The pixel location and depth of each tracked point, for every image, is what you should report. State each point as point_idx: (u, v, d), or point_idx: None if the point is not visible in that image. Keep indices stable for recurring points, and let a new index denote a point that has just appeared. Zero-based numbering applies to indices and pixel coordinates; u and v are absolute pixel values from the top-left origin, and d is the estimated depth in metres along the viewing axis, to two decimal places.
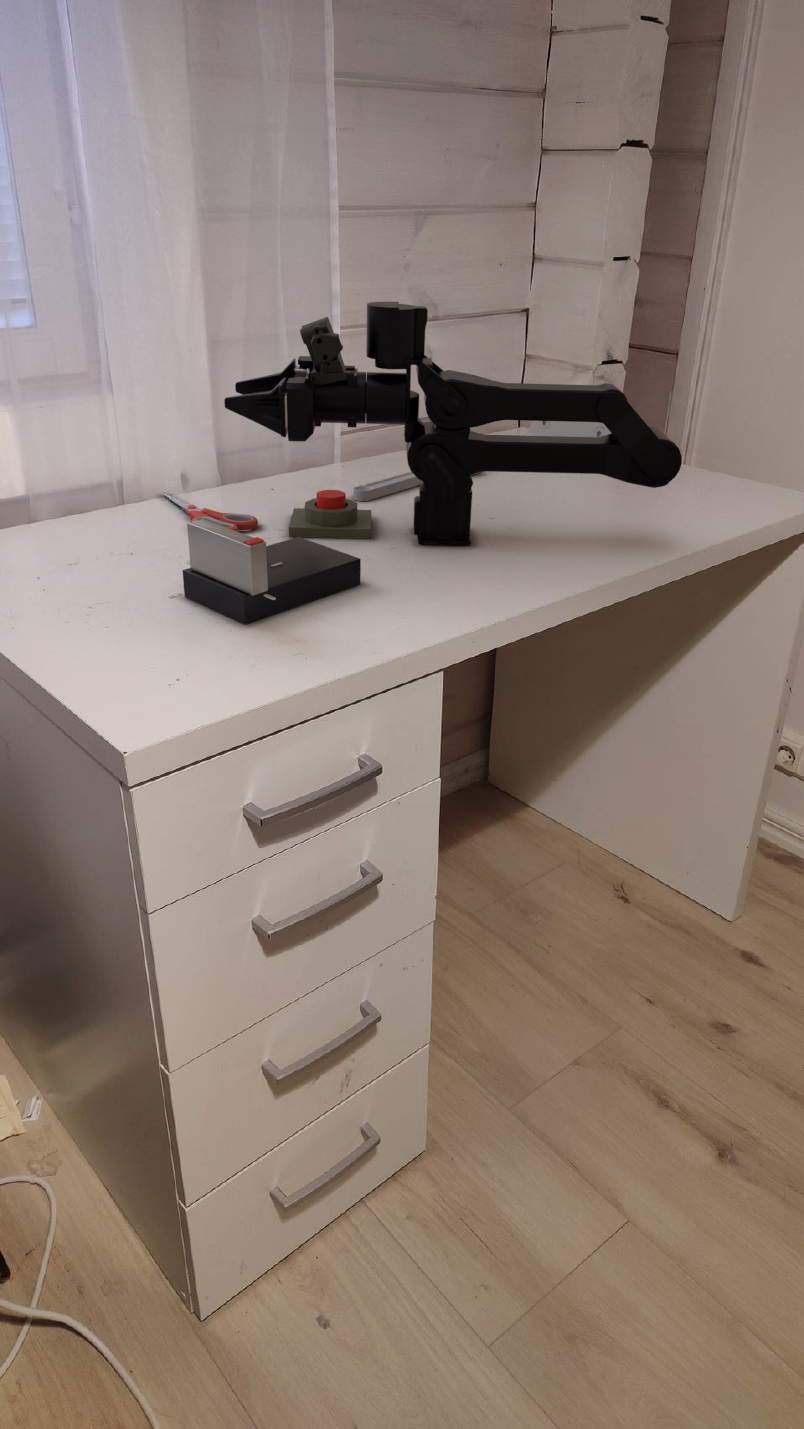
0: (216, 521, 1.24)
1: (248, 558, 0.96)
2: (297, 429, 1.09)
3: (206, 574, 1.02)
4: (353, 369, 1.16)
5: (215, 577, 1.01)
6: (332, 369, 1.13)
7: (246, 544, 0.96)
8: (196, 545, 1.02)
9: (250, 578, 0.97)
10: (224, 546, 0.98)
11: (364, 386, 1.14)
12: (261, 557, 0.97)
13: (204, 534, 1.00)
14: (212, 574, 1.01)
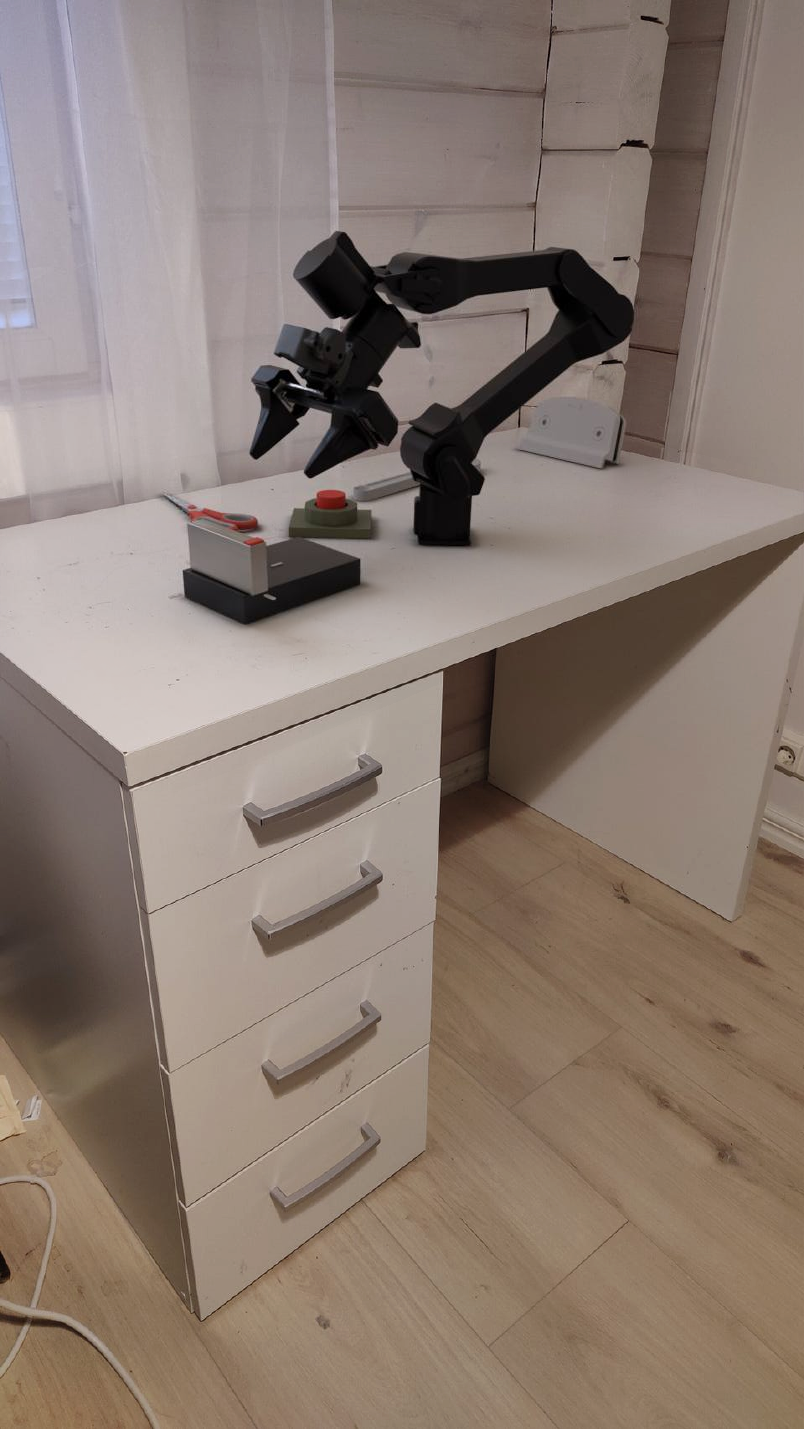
0: (216, 521, 1.24)
1: (248, 558, 0.96)
2: (391, 431, 1.03)
3: (206, 574, 1.02)
4: None
5: (215, 577, 1.01)
6: None
7: (246, 544, 0.96)
8: (196, 545, 1.02)
9: (250, 578, 0.97)
10: (224, 546, 0.98)
11: (366, 344, 1.06)
12: (261, 557, 0.97)
13: (204, 534, 1.00)
14: (212, 574, 1.01)
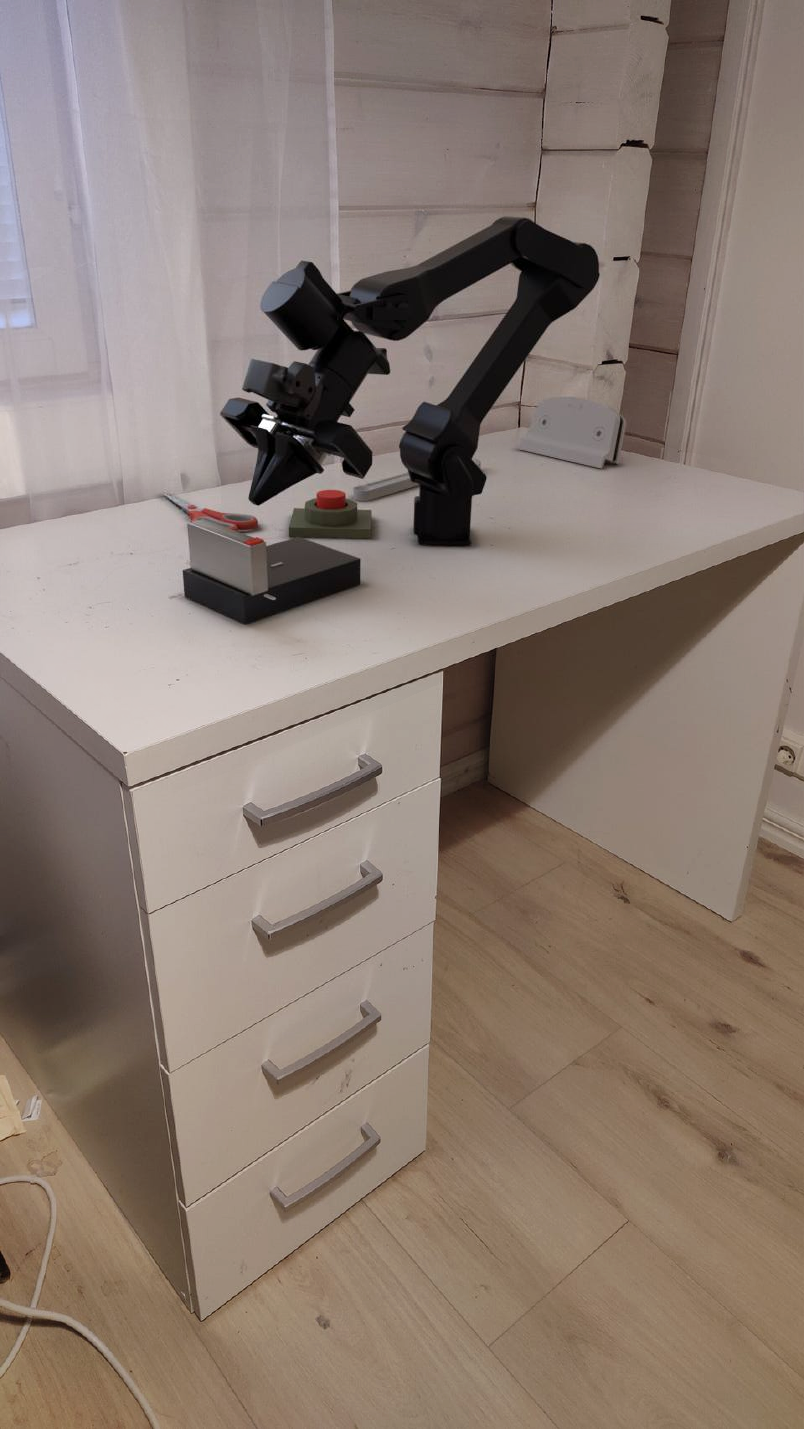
0: (216, 521, 1.24)
1: (248, 558, 0.96)
2: (365, 463, 1.02)
3: (206, 574, 1.02)
4: None
5: (215, 577, 1.01)
6: None
7: (246, 544, 0.96)
8: (196, 545, 1.02)
9: (250, 578, 0.97)
10: (224, 546, 0.98)
11: (336, 374, 1.04)
12: (261, 557, 0.97)
13: (204, 534, 1.00)
14: (212, 574, 1.01)
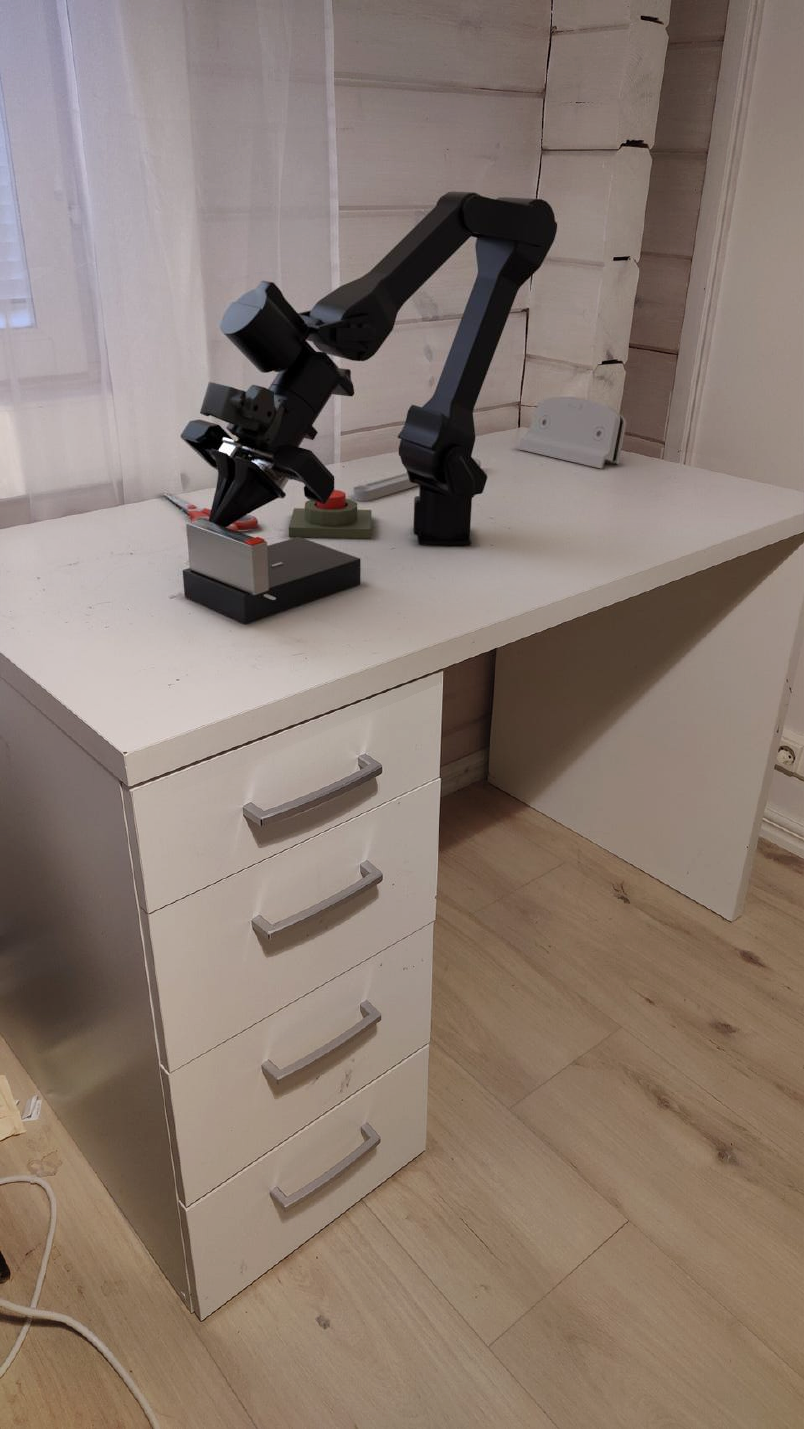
0: None
1: (249, 558, 0.96)
2: (327, 488, 0.99)
3: (206, 574, 1.02)
4: None
5: (215, 577, 1.01)
6: None
7: (248, 544, 0.96)
8: (195, 545, 1.02)
9: (251, 577, 0.97)
10: (225, 546, 0.98)
11: (297, 397, 1.01)
12: (262, 557, 0.97)
13: (204, 535, 1.00)
14: (212, 575, 1.01)
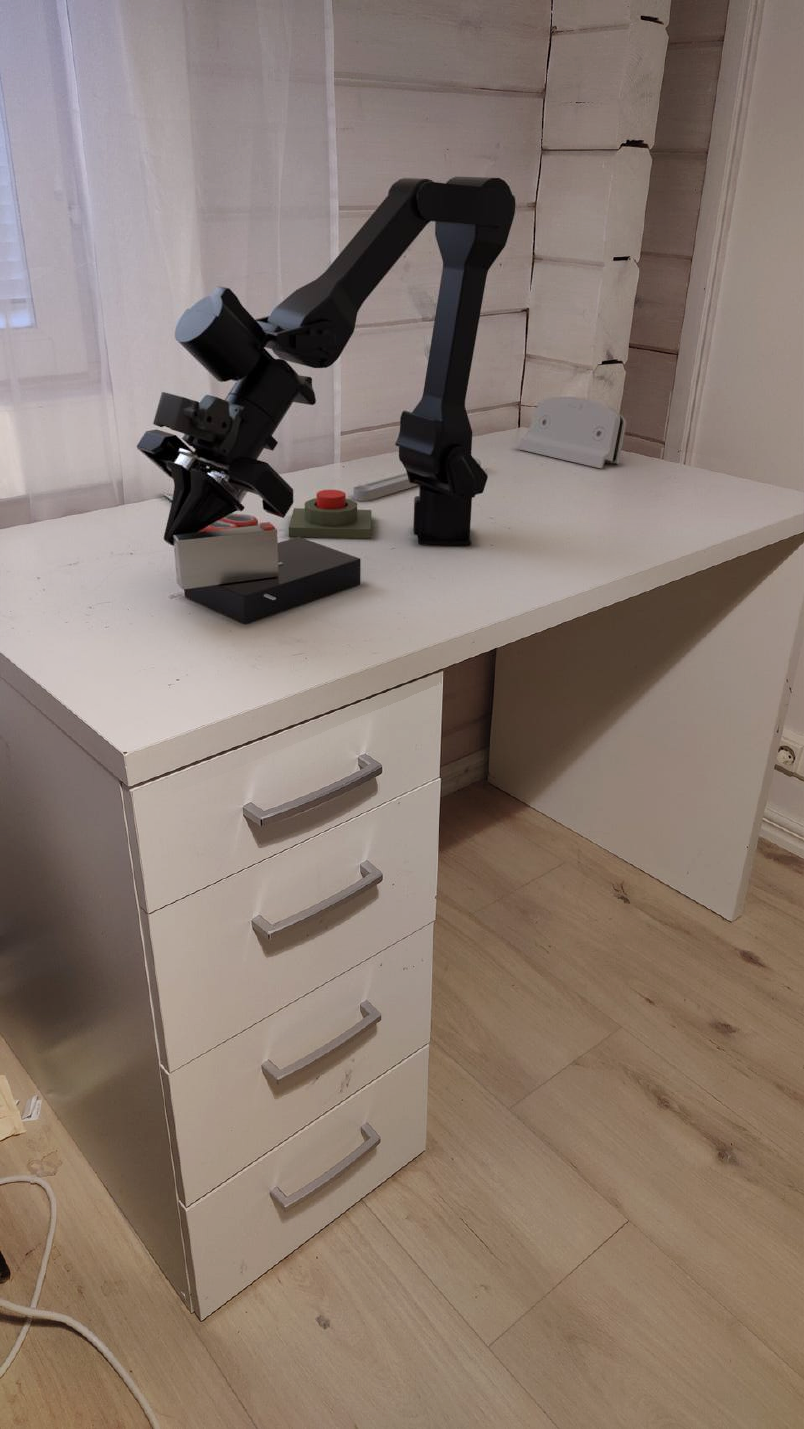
0: (216, 521, 1.24)
1: (274, 542, 1.01)
2: (285, 502, 0.96)
3: (208, 584, 1.00)
4: None
5: (223, 581, 1.00)
6: None
7: (270, 529, 1.00)
8: (193, 559, 0.98)
9: (276, 560, 1.02)
10: (239, 543, 0.99)
11: (255, 406, 0.98)
12: None
13: (208, 543, 0.98)
14: (219, 580, 1.00)
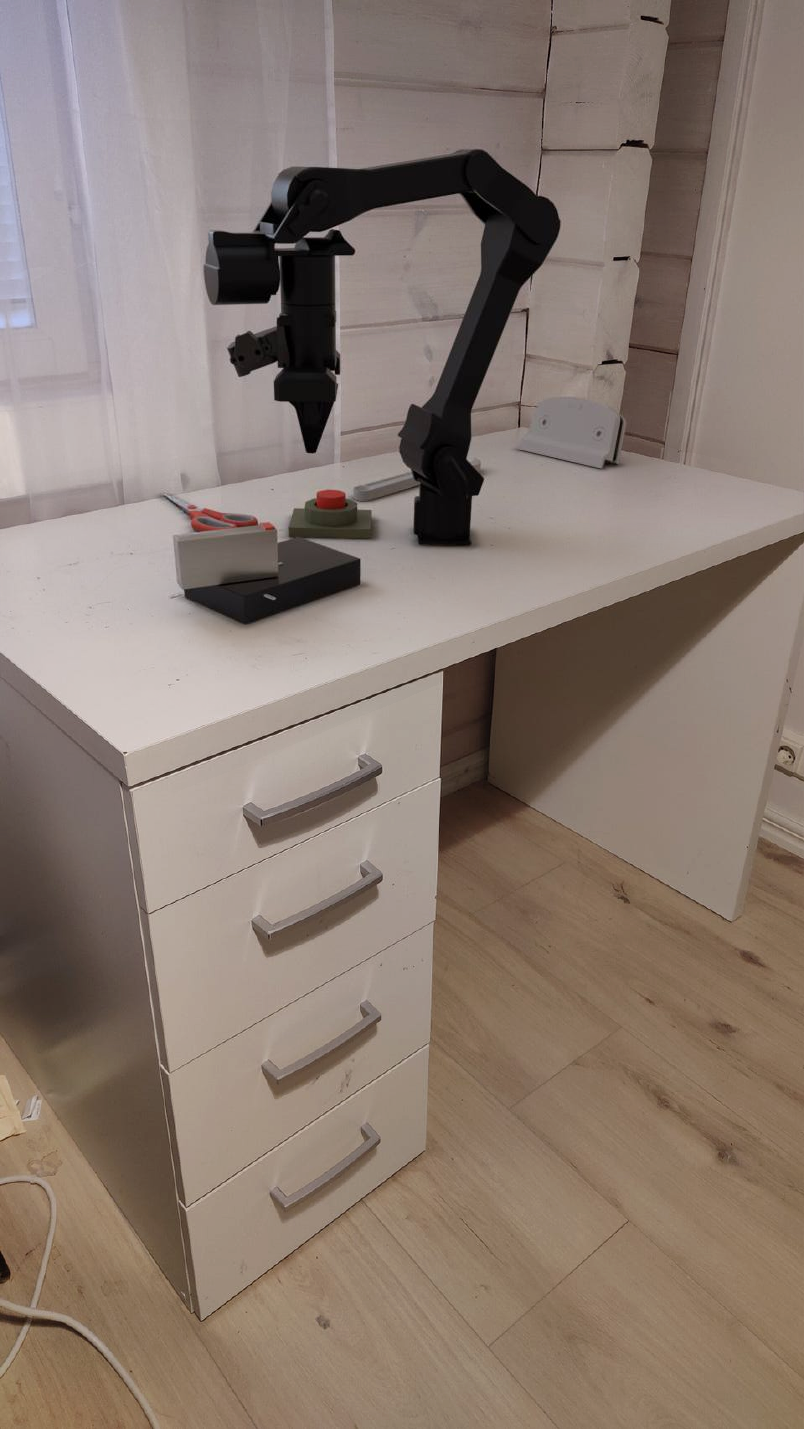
0: (216, 521, 1.24)
1: (274, 542, 1.01)
2: (321, 391, 1.01)
3: (208, 584, 1.00)
4: None
5: (223, 581, 1.00)
6: (273, 343, 1.05)
7: (270, 529, 1.00)
8: (193, 559, 0.98)
9: (276, 560, 1.02)
10: (239, 543, 0.99)
11: (290, 306, 1.03)
12: None
13: (208, 543, 0.98)
14: (219, 580, 1.00)
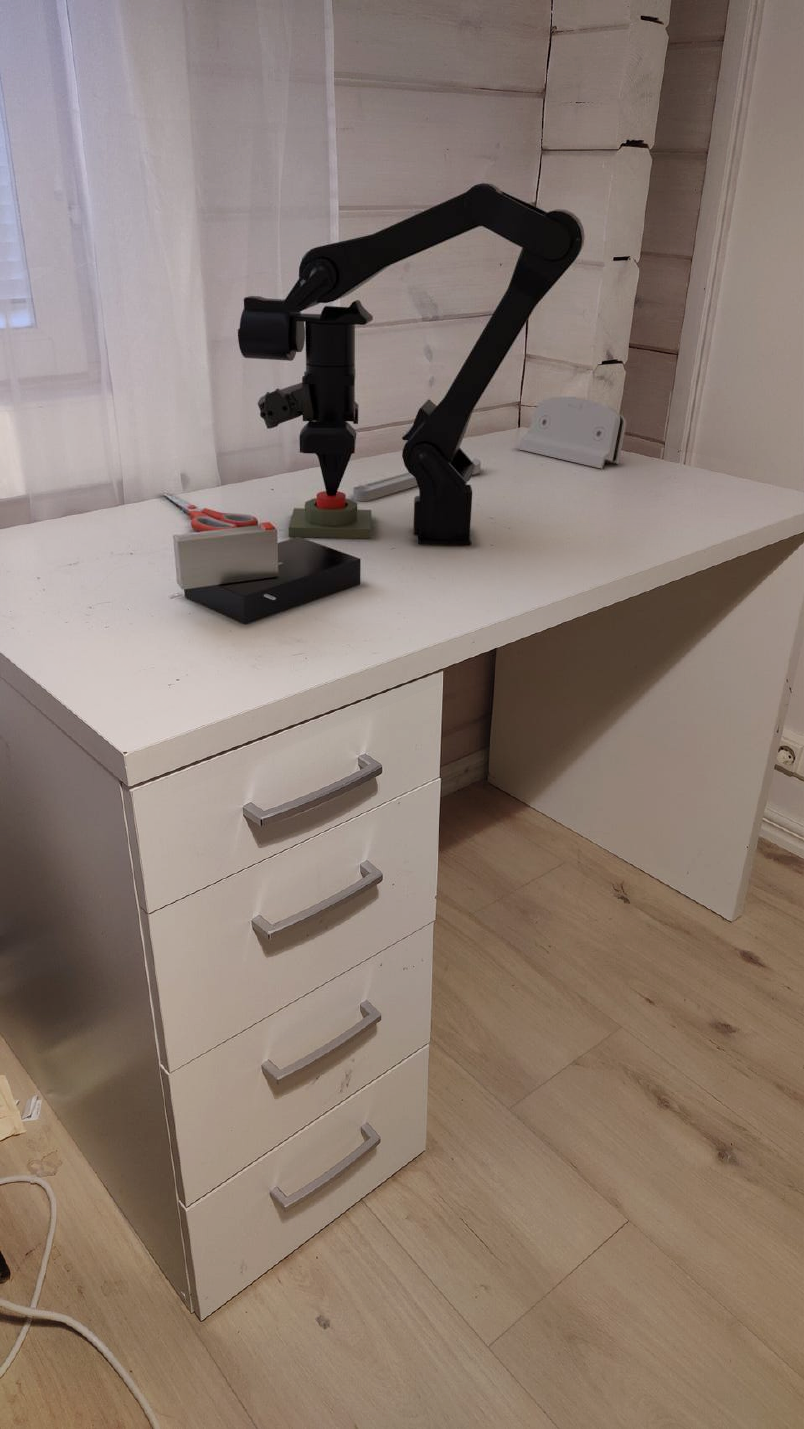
0: (216, 521, 1.24)
1: (274, 542, 1.01)
2: (341, 444, 1.13)
3: (208, 584, 1.00)
4: None
5: (223, 581, 1.00)
6: (299, 399, 1.17)
7: (270, 529, 1.00)
8: (193, 559, 0.98)
9: (276, 560, 1.02)
10: (239, 543, 0.99)
11: (314, 367, 1.16)
12: None
13: (208, 543, 0.98)
14: (219, 580, 1.00)
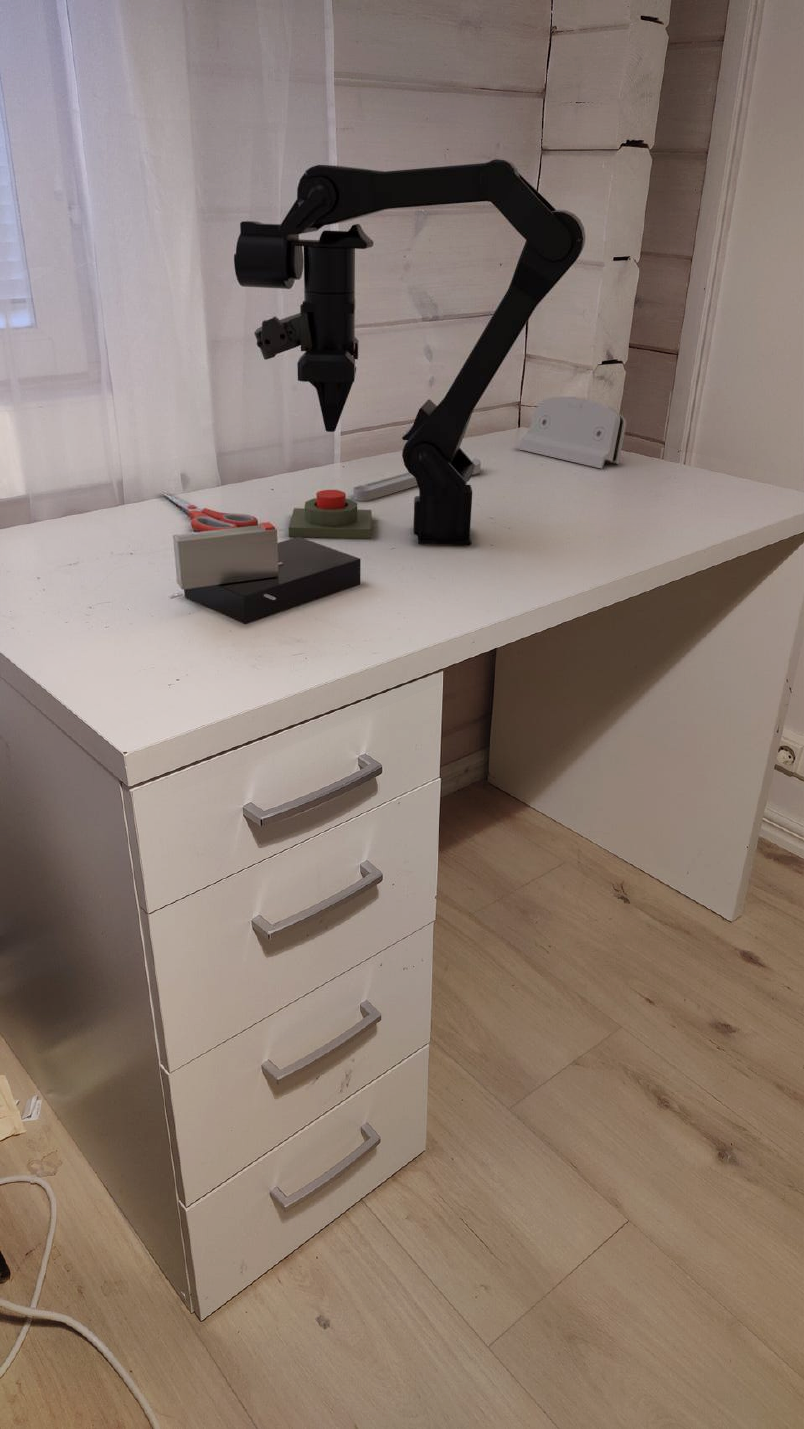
0: (216, 521, 1.24)
1: (274, 542, 1.01)
2: (341, 372, 1.09)
3: (208, 584, 1.00)
4: None
5: (223, 581, 1.00)
6: (297, 328, 1.13)
7: (270, 529, 1.00)
8: (193, 559, 0.98)
9: (276, 560, 1.02)
10: (239, 543, 0.99)
11: (313, 294, 1.12)
12: None
13: (208, 543, 0.98)
14: (219, 580, 1.00)
